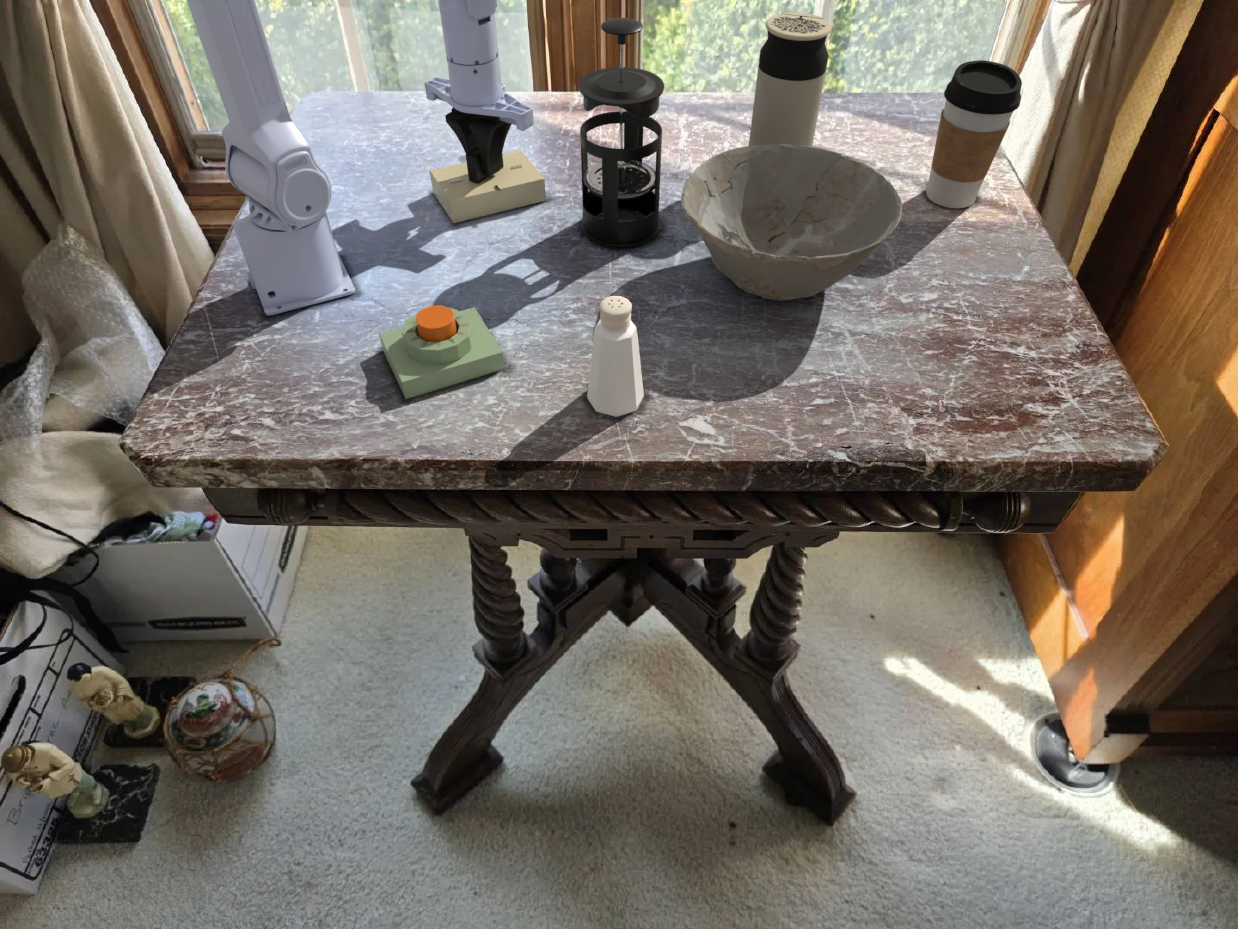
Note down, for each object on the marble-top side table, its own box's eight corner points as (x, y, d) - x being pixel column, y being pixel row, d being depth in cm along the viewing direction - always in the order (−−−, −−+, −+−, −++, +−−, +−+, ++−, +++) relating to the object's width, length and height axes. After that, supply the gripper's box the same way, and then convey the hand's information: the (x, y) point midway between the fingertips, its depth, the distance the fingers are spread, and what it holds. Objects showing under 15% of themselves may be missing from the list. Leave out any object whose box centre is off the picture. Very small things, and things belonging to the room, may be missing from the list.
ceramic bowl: (889, 238, 100) (911, 158, 92) (866, 360, 85) (890, 275, 77) (705, 207, 104) (712, 128, 97) (653, 317, 89) (656, 234, 82)
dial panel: (455, 226, 101) (451, 202, 99) (431, 190, 107) (427, 166, 104) (548, 203, 105) (546, 179, 102) (520, 169, 110) (518, 146, 108)
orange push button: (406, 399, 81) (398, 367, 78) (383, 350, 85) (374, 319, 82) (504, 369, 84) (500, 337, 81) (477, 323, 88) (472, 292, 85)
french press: (647, 257, 97) (654, 48, 80) (568, 244, 98) (559, 37, 82) (671, 205, 104) (682, 4, 87) (598, 194, 106) (595, -5, 89)
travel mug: (796, 191, 107) (822, 42, 94) (737, 176, 109) (754, 29, 96) (815, 163, 112) (842, 17, 98) (757, 150, 114) (776, 6, 101)
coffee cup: (978, 180, 109) (1019, 60, 98) (991, 216, 103) (1036, 92, 92) (911, 177, 109) (945, 57, 98) (920, 212, 104) (957, 89, 93)
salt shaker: (642, 378, 83) (645, 284, 75) (645, 417, 79) (649, 322, 71) (586, 379, 83) (583, 285, 74) (587, 418, 79) (584, 324, 71)
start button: (425, 347, 80) (422, 332, 79) (414, 325, 82) (411, 311, 81) (461, 336, 81) (459, 322, 80) (449, 315, 83) (447, 301, 82)
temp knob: (477, 184, 102) (474, 155, 99) (468, 180, 102) (464, 152, 100) (504, 167, 105) (501, 138, 102) (495, 163, 105) (492, 135, 102)
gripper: (547, 57, 93) (553, 173, 103) (447, 28, 98) (462, 141, 108) (506, 80, 89) (517, 198, 99) (404, 49, 94) (424, 163, 104)
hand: (486, 170), depth 103 cm, fingers closed on temp knob
